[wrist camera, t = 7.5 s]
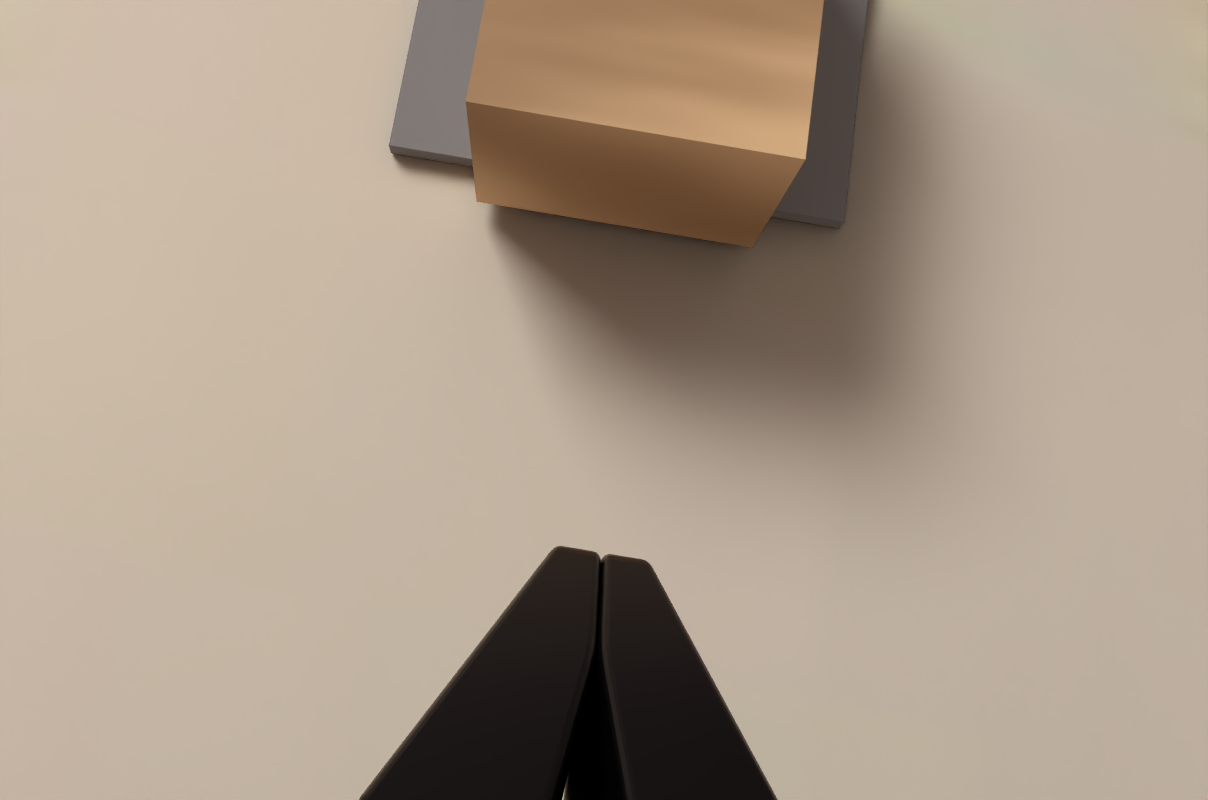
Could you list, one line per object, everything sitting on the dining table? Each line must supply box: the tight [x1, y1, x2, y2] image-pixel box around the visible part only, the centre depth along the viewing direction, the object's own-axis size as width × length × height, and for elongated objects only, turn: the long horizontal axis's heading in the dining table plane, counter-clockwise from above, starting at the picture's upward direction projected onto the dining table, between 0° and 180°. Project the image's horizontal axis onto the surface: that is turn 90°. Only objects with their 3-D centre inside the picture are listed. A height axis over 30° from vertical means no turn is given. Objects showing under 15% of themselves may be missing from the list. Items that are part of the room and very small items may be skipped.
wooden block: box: [466, 0, 824, 247], centre depth 22 cm, size 4×6×8 cm
